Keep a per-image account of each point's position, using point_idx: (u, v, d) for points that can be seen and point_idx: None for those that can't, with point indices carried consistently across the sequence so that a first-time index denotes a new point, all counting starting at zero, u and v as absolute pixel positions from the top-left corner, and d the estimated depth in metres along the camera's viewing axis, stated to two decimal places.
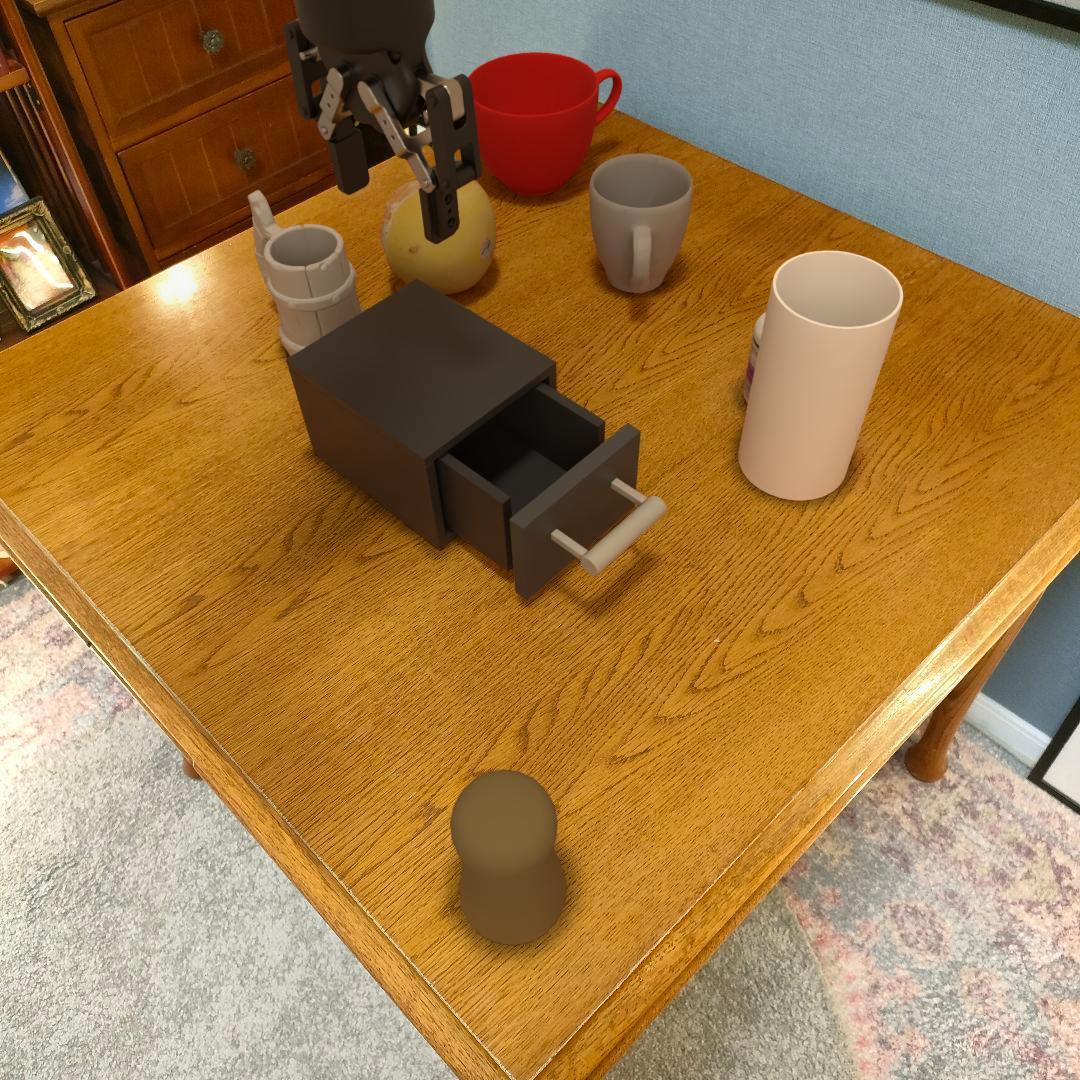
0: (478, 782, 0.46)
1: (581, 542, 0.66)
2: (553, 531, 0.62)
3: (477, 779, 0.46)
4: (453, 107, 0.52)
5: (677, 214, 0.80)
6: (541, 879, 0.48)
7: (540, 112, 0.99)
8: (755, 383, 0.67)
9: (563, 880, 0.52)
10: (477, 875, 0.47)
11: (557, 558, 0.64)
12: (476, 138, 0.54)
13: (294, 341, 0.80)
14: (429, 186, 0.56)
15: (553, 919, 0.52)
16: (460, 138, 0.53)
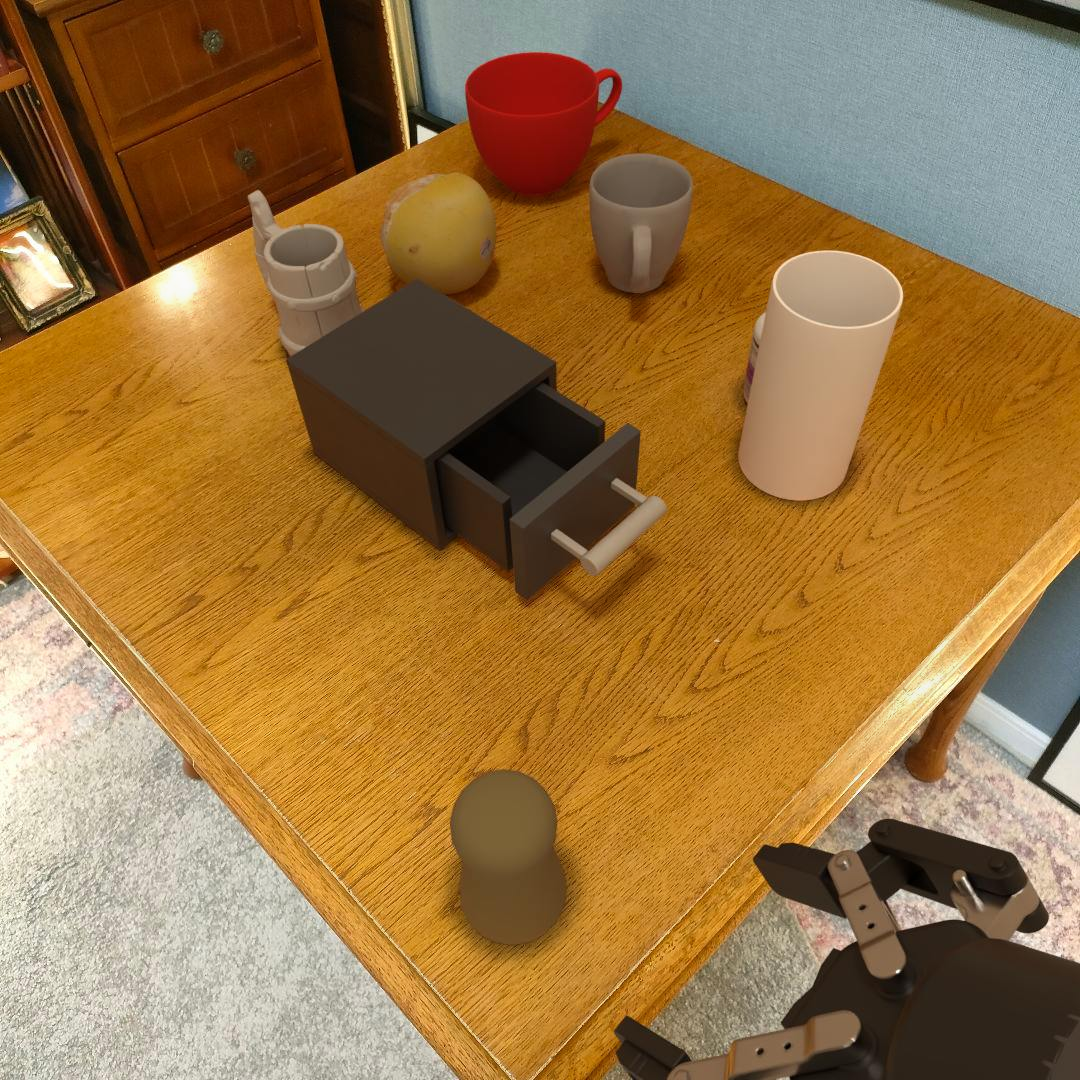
0: (478, 782, 0.46)
1: (581, 542, 0.66)
2: (553, 531, 0.62)
3: (477, 779, 0.46)
4: None
5: (677, 214, 0.80)
6: (541, 879, 0.48)
7: (540, 112, 0.99)
8: (755, 384, 0.67)
9: (563, 880, 0.52)
10: (477, 875, 0.47)
11: (557, 558, 0.64)
12: None
13: (294, 341, 0.80)
14: None
15: (553, 919, 0.52)
16: None
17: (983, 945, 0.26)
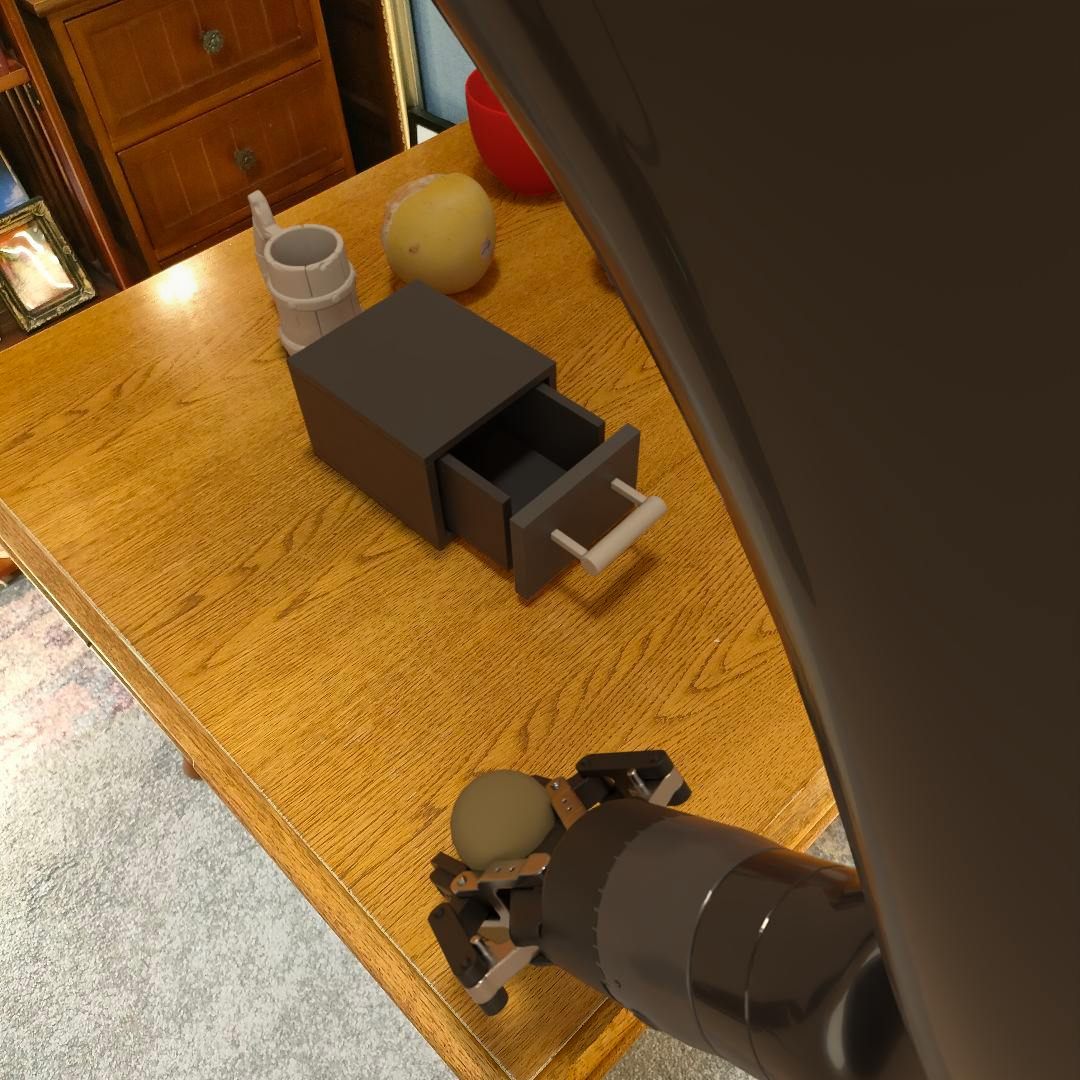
0: (478, 782, 0.46)
1: (581, 542, 0.66)
2: (553, 531, 0.62)
3: (477, 779, 0.46)
4: None
5: None
6: None
7: None
8: None
9: None
10: None
11: (557, 558, 0.64)
12: None
13: (294, 341, 0.80)
14: (455, 885, 0.45)
15: None
16: None
17: (620, 801, 0.39)
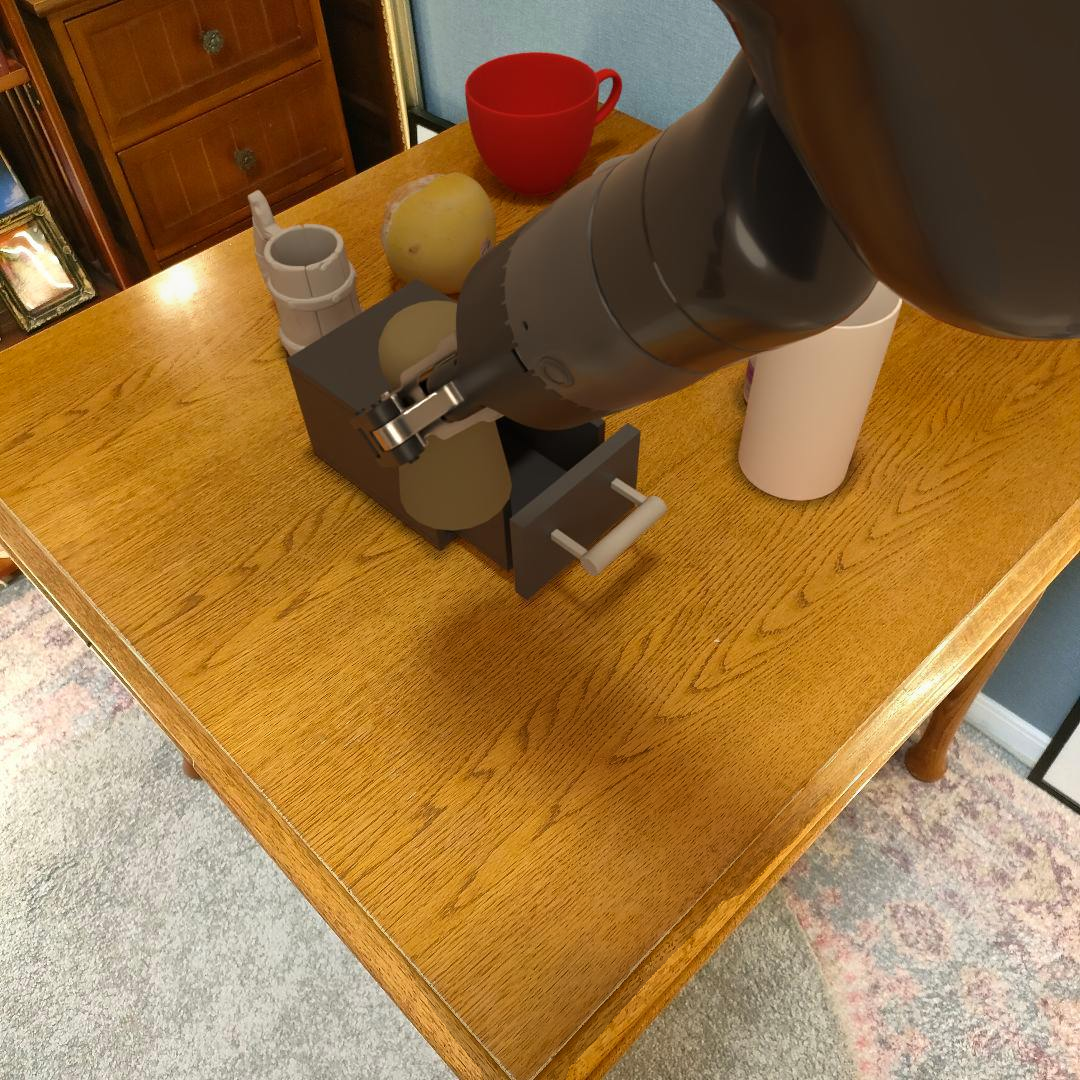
0: (408, 307, 0.44)
1: (581, 542, 0.66)
2: (553, 531, 0.62)
3: (407, 307, 0.44)
4: (376, 434, 0.37)
5: None
6: (477, 430, 0.46)
7: (540, 112, 0.99)
8: (755, 383, 0.67)
9: (507, 469, 0.50)
10: None
11: (557, 558, 0.64)
12: (386, 464, 0.40)
13: (294, 341, 0.80)
14: None
15: (496, 506, 0.49)
16: (371, 439, 0.39)
17: None
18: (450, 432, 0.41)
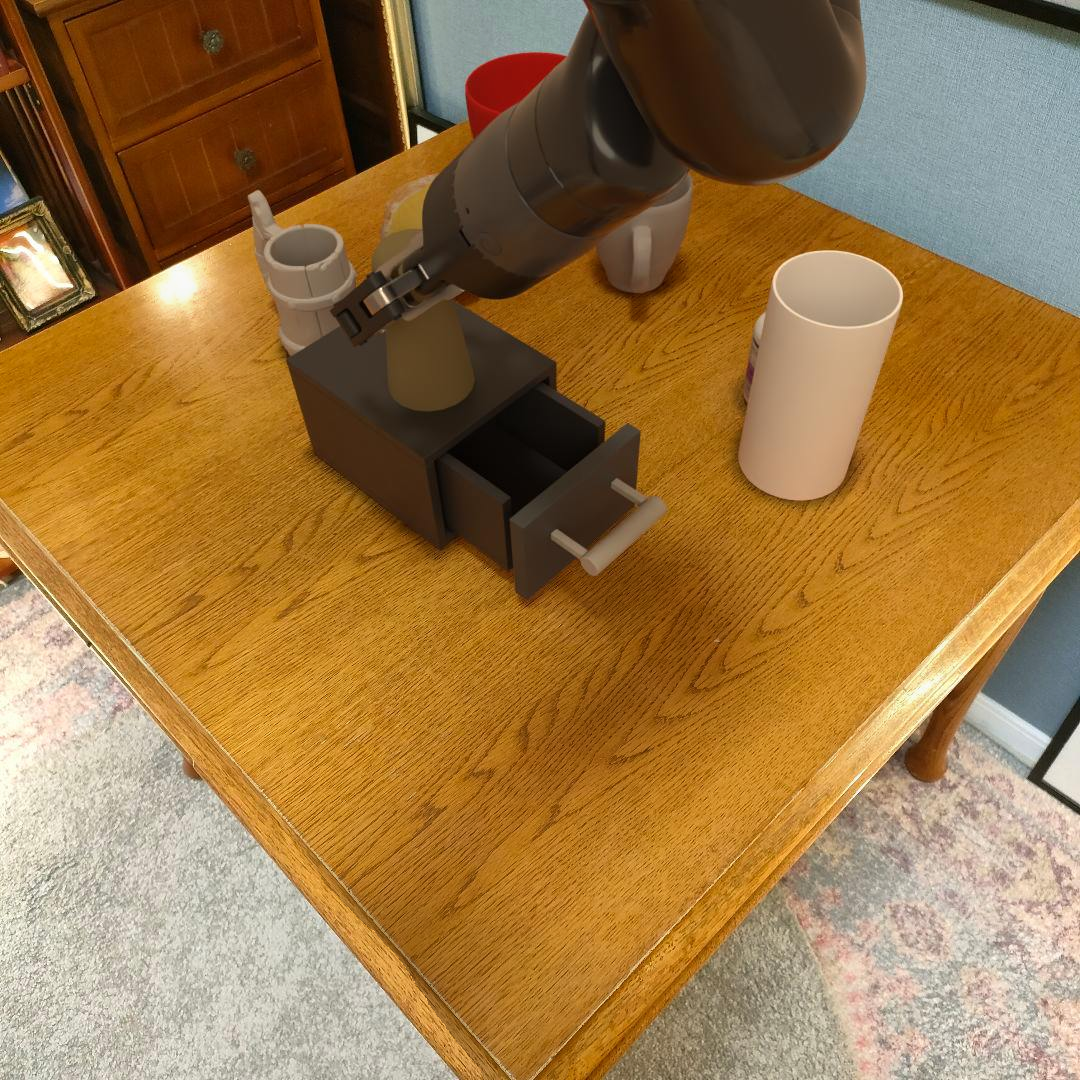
0: None
1: (581, 542, 0.66)
2: (553, 531, 0.62)
3: (393, 233, 0.59)
4: (368, 299, 0.50)
5: (677, 214, 0.80)
6: (446, 329, 0.60)
7: None
8: (755, 383, 0.67)
9: (470, 365, 0.65)
10: None
11: (557, 558, 0.64)
12: (367, 334, 0.52)
13: (294, 341, 0.80)
14: None
15: (462, 393, 0.64)
16: (357, 313, 0.52)
17: None
18: (415, 313, 0.54)
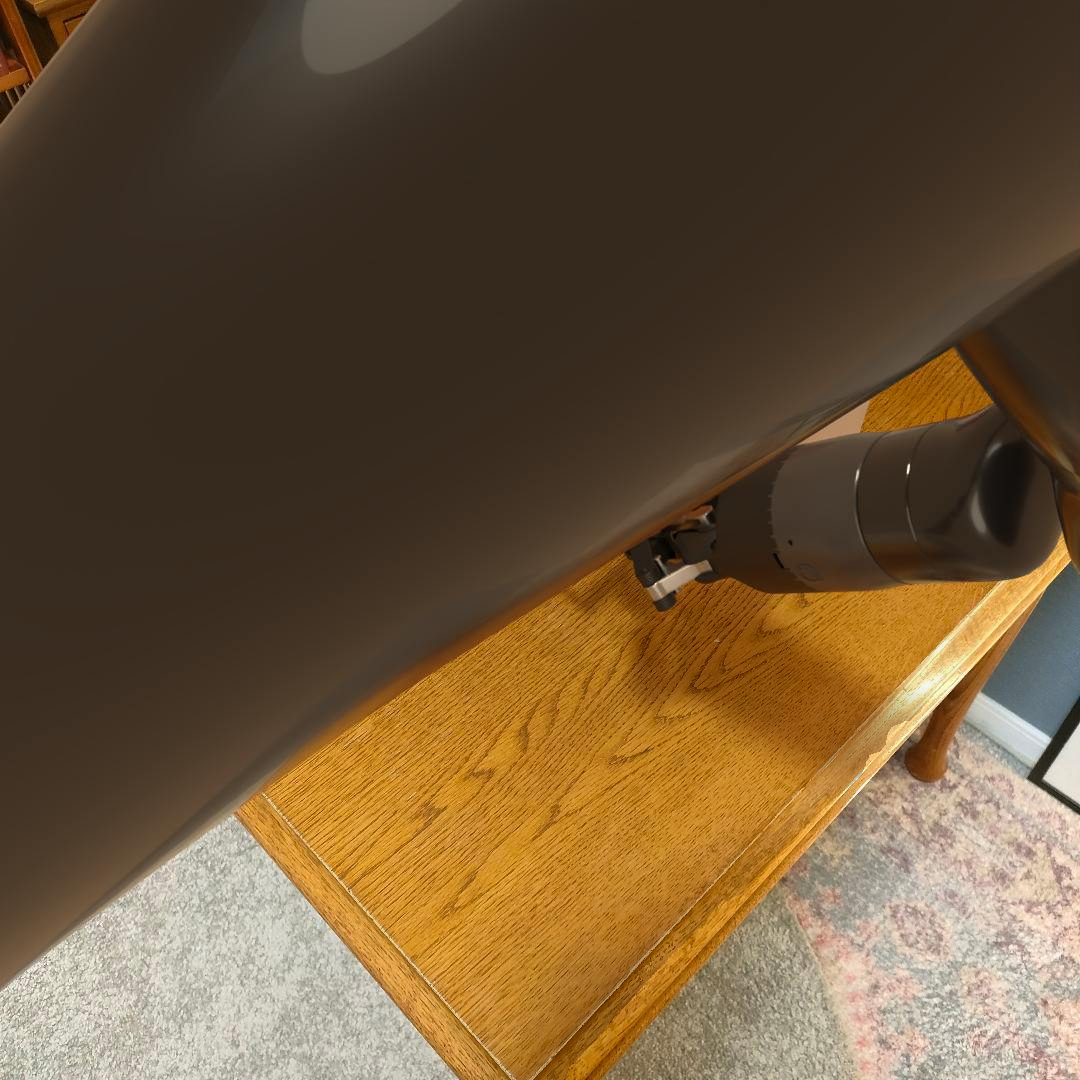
0: None
1: None
2: None
3: None
4: None
5: None
6: None
7: None
8: None
9: None
10: None
11: None
12: None
13: None
14: None
15: None
16: None
17: None
18: None
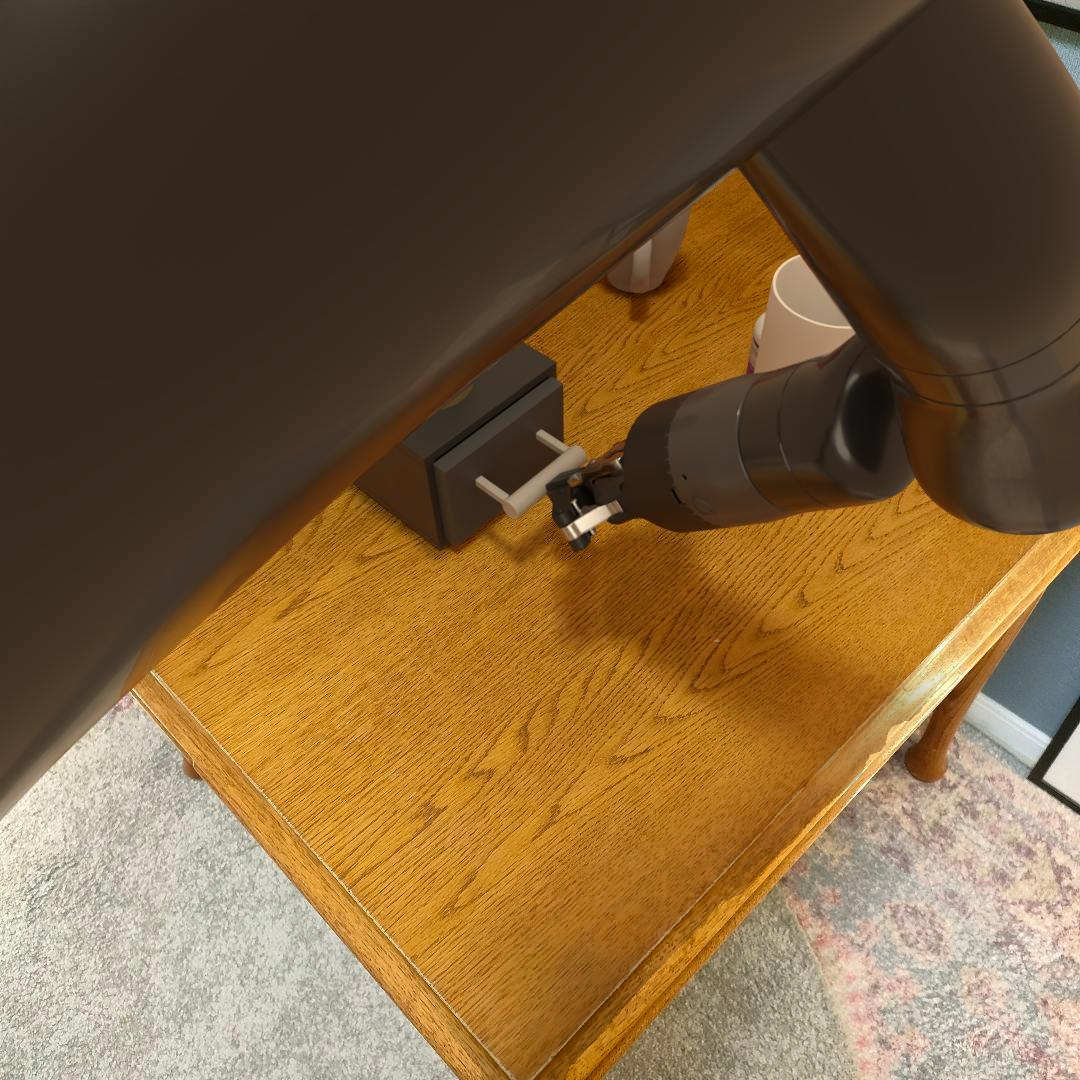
0: None
1: (508, 492, 0.69)
2: (478, 477, 0.65)
3: None
4: None
5: None
6: None
7: None
8: None
9: None
10: None
11: (484, 505, 0.67)
12: None
13: None
14: (571, 479, 0.60)
15: (462, 393, 0.64)
16: None
17: None
18: None
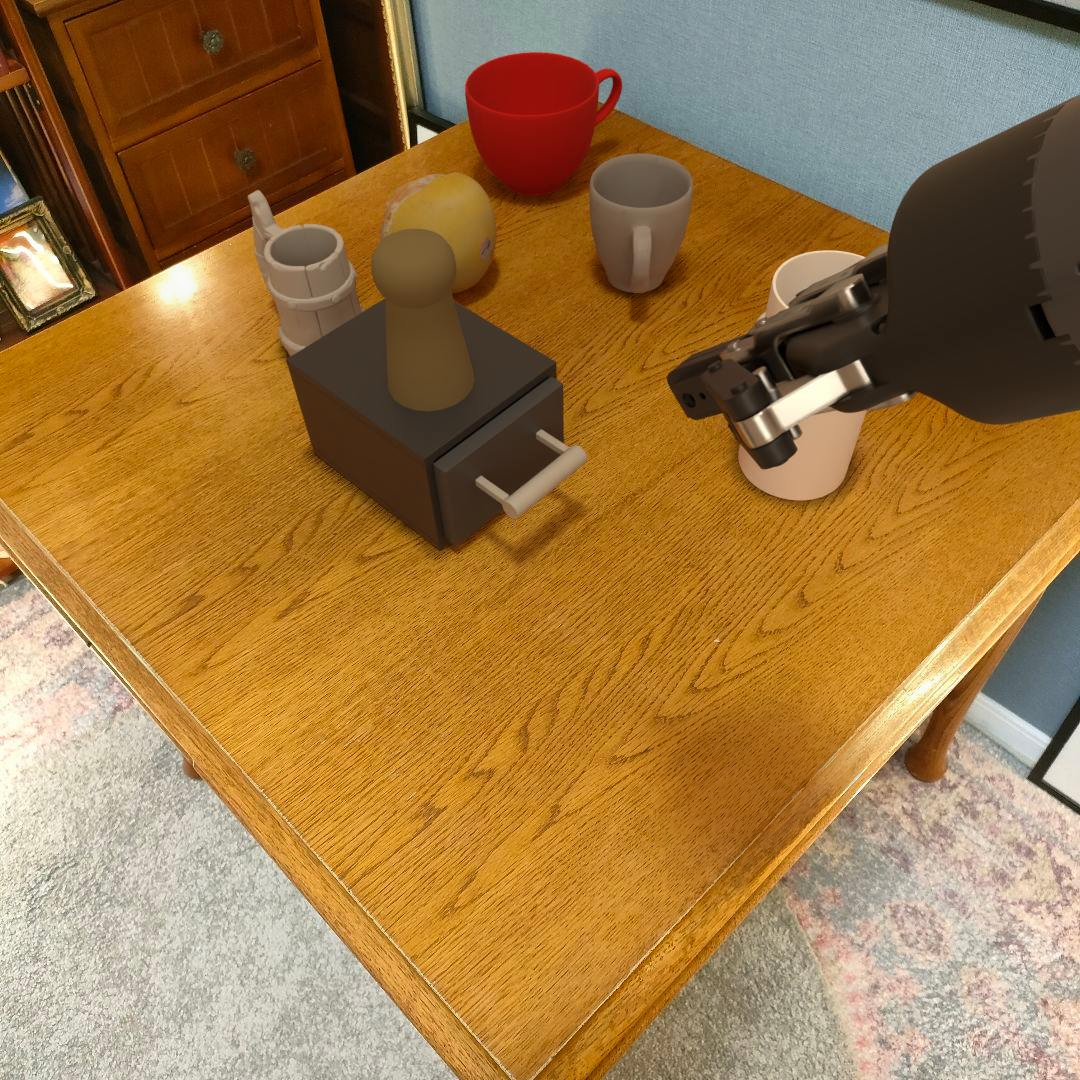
0: None
1: (508, 492, 0.69)
2: (478, 477, 0.65)
3: (393, 233, 0.59)
4: (733, 422, 0.28)
5: (677, 214, 0.80)
6: (446, 328, 0.60)
7: (540, 112, 0.99)
8: None
9: (470, 365, 0.65)
10: (394, 317, 0.60)
11: (484, 505, 0.67)
12: (742, 445, 0.31)
13: (294, 341, 0.80)
14: (728, 352, 0.33)
15: (462, 393, 0.64)
16: (726, 417, 0.30)
17: None
18: None
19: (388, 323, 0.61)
